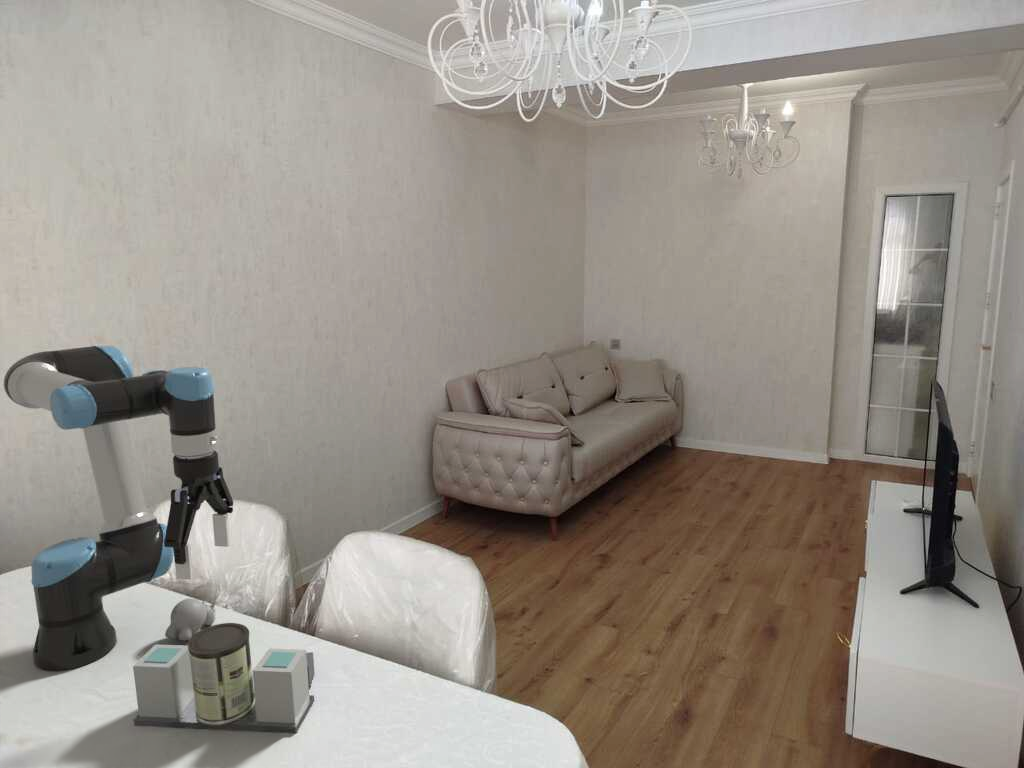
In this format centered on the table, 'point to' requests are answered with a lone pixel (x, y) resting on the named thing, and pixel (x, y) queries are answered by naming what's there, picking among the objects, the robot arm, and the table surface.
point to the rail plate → (242, 724)
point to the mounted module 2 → (281, 685)
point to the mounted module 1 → (163, 681)
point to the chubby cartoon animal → (189, 618)
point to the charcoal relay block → (310, 667)
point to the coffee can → (221, 673)
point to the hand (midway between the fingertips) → (204, 561)
